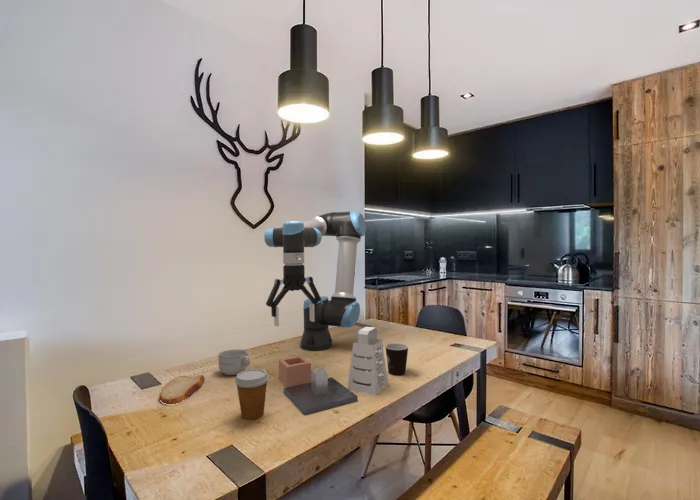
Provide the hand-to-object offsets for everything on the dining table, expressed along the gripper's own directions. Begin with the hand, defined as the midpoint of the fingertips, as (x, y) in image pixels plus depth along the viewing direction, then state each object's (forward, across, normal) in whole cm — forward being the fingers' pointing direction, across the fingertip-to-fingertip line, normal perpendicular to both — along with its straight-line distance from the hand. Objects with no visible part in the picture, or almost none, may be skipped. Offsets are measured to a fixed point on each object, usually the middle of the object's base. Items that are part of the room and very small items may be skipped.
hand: (294, 323), depth 132 cm
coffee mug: (+21, +37, -12) cm, 44 cm away
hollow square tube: (+21, 0, 0) cm, 21 cm away
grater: (+21, +20, -18) cm, 34 cm away
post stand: (+21, +2, -17) cm, 27 cm away
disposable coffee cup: (+21, -20, -18) cm, 34 cm away
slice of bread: (+21, -36, +11) cm, 43 cm away
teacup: (+21, -17, +18) cm, 33 cm away
